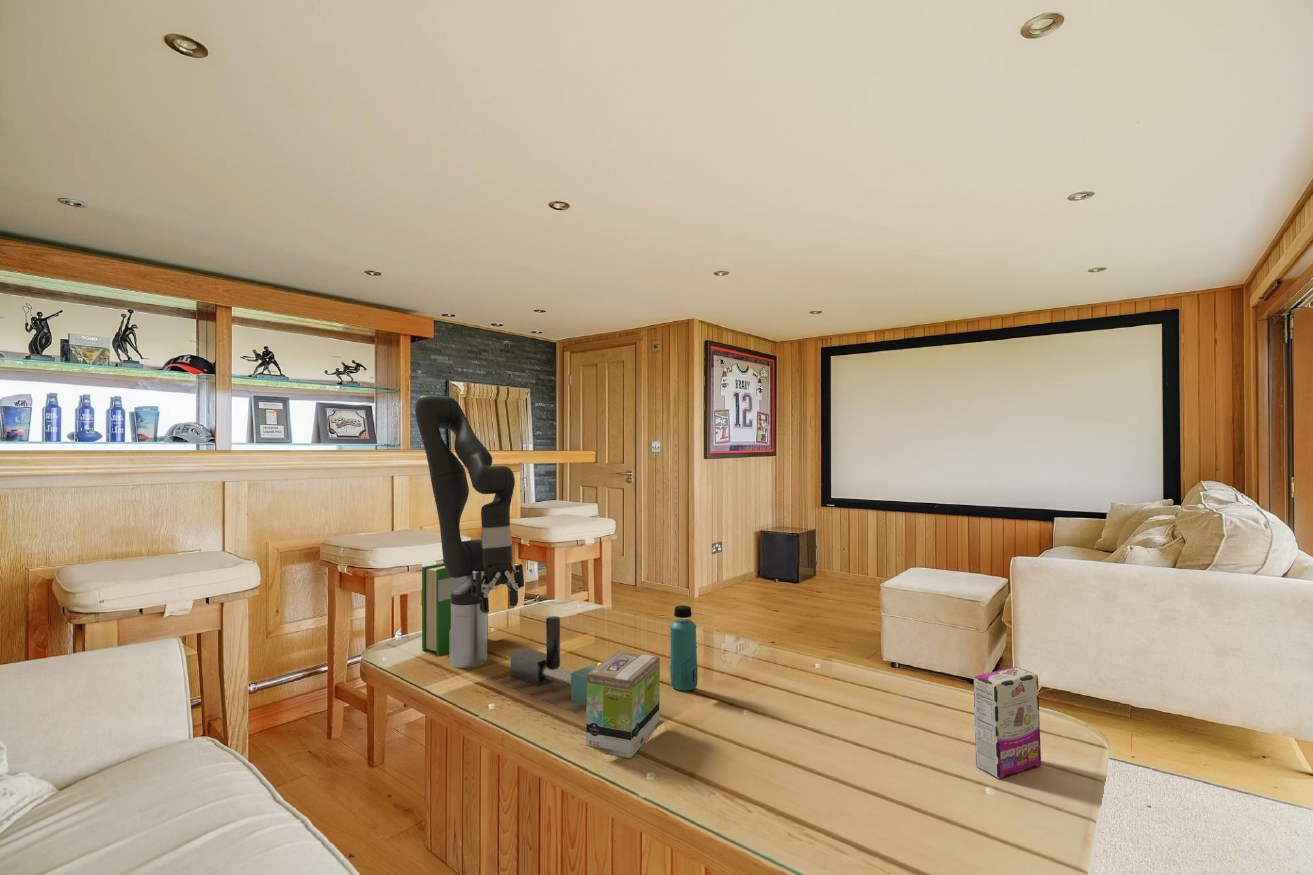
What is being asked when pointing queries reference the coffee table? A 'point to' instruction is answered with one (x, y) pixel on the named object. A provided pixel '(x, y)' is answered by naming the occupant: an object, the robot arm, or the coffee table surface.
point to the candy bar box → (1007, 722)
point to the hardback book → (437, 607)
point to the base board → (546, 693)
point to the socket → (580, 685)
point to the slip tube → (554, 655)
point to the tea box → (623, 702)
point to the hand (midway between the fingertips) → (499, 609)
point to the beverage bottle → (683, 650)
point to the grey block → (528, 666)
